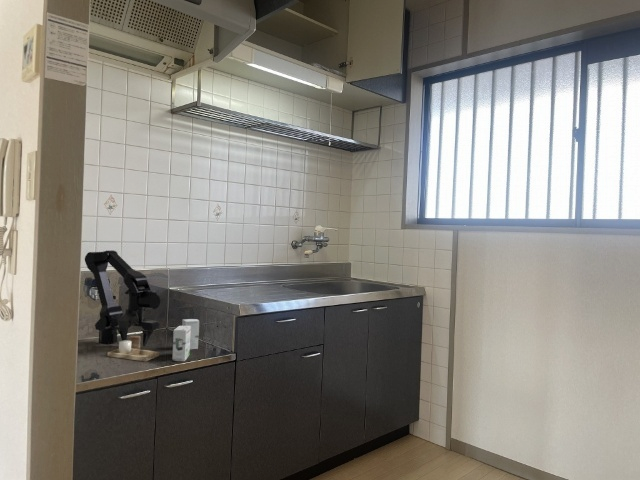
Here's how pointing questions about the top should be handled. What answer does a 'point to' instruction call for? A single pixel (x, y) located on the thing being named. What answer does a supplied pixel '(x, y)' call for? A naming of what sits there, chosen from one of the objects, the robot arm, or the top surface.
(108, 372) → the top surface
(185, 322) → the skincare box
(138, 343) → the brown egg
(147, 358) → the egg tray
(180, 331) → the ink box
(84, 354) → the top surface
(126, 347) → the cream egg
